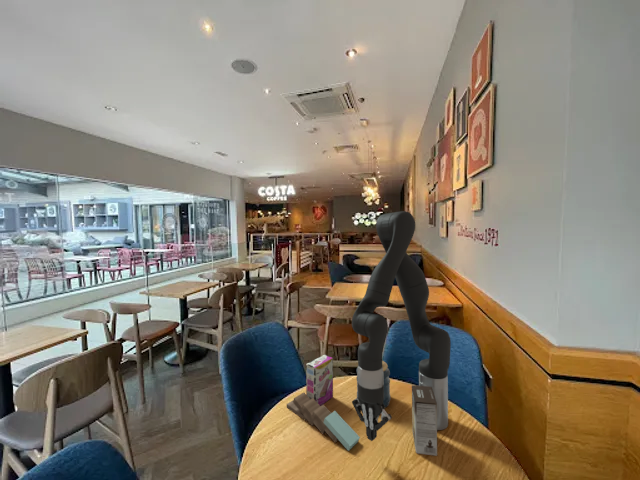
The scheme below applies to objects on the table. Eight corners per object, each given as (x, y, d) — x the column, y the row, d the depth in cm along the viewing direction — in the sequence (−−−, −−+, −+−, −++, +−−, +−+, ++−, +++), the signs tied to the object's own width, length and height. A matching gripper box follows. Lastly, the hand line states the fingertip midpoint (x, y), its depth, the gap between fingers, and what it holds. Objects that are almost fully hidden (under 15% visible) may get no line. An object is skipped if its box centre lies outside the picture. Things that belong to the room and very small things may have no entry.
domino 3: (334, 422, 94) (313, 398, 101) (324, 429, 90) (303, 404, 97) (332, 426, 94) (311, 402, 101) (322, 434, 91) (301, 408, 98)
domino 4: (346, 429, 90) (323, 404, 97) (336, 438, 86) (313, 411, 93) (344, 434, 91) (321, 408, 98) (335, 442, 87) (312, 415, 94)
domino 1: (315, 410, 101) (296, 398, 109) (305, 417, 97) (286, 404, 105) (316, 415, 101) (296, 403, 109) (305, 422, 97) (286, 409, 105)
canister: (351, 393, 113) (351, 351, 112) (380, 388, 116) (379, 347, 116) (365, 413, 100) (364, 366, 100) (396, 407, 104) (396, 361, 103)
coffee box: (411, 431, 91) (411, 384, 91) (432, 434, 90) (431, 385, 89) (415, 453, 82) (414, 401, 82) (438, 456, 81) (437, 403, 80)
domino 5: (359, 437, 87) (334, 410, 93) (350, 446, 83) (324, 418, 90) (358, 441, 87) (333, 414, 94) (348, 451, 84) (323, 422, 90)
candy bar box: (315, 411, 103) (314, 368, 102) (306, 406, 106) (305, 363, 105) (334, 397, 111) (333, 357, 110) (324, 392, 114) (323, 353, 114)
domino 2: (323, 414, 98) (304, 392, 105) (313, 421, 94) (293, 398, 101) (322, 418, 98) (302, 396, 105) (312, 426, 95) (292, 402, 102)
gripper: (344, 377, 82) (346, 433, 83) (382, 395, 73) (384, 459, 73) (360, 368, 87) (361, 421, 88) (397, 383, 78) (398, 443, 78)
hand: (371, 438), depth 81 cm, fingers closed
